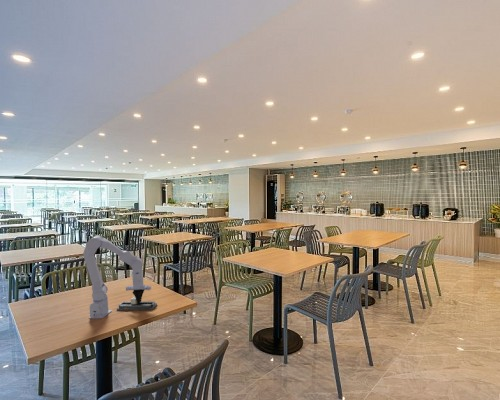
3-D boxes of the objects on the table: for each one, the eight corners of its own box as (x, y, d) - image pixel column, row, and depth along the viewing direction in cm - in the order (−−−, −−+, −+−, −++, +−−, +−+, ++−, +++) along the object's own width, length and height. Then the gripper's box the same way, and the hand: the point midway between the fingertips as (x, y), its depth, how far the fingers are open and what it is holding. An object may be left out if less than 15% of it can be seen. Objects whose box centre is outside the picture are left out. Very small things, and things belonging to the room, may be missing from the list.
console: (151, 310, 160) (151, 306, 160) (116, 310, 162) (116, 306, 162) (157, 305, 168) (157, 300, 168) (123, 305, 170) (123, 300, 170)
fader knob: (135, 306, 163) (135, 298, 163) (131, 306, 163) (130, 299, 163) (138, 304, 167) (138, 296, 167) (134, 304, 167) (133, 296, 167)
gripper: (152, 276, 167) (154, 299, 168) (129, 277, 169) (131, 299, 169) (147, 280, 160) (148, 304, 161) (123, 281, 162) (124, 304, 162)
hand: (139, 302), depth 165 cm, fingers closed
